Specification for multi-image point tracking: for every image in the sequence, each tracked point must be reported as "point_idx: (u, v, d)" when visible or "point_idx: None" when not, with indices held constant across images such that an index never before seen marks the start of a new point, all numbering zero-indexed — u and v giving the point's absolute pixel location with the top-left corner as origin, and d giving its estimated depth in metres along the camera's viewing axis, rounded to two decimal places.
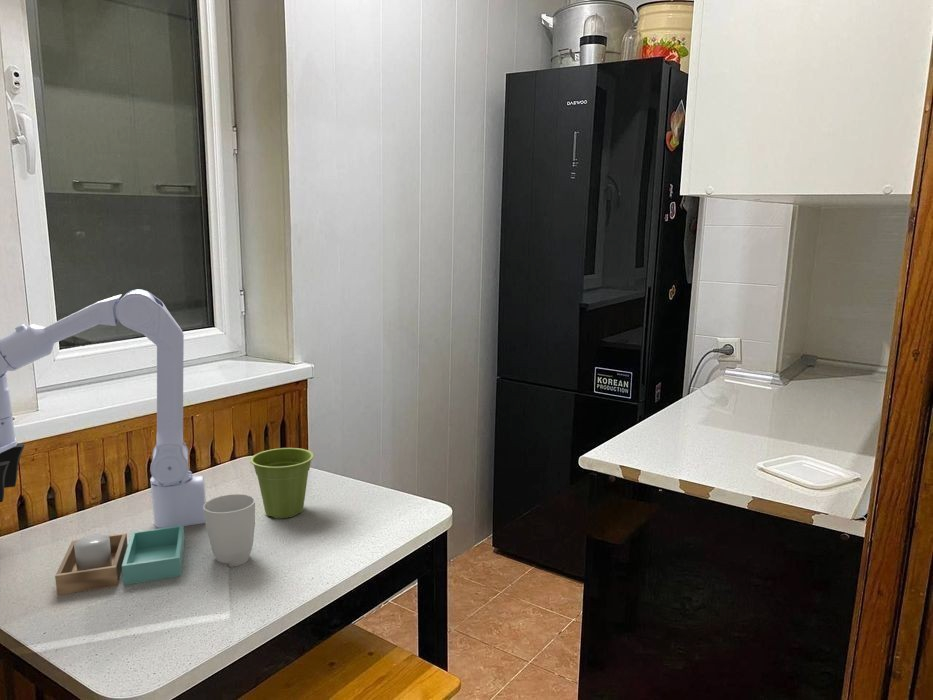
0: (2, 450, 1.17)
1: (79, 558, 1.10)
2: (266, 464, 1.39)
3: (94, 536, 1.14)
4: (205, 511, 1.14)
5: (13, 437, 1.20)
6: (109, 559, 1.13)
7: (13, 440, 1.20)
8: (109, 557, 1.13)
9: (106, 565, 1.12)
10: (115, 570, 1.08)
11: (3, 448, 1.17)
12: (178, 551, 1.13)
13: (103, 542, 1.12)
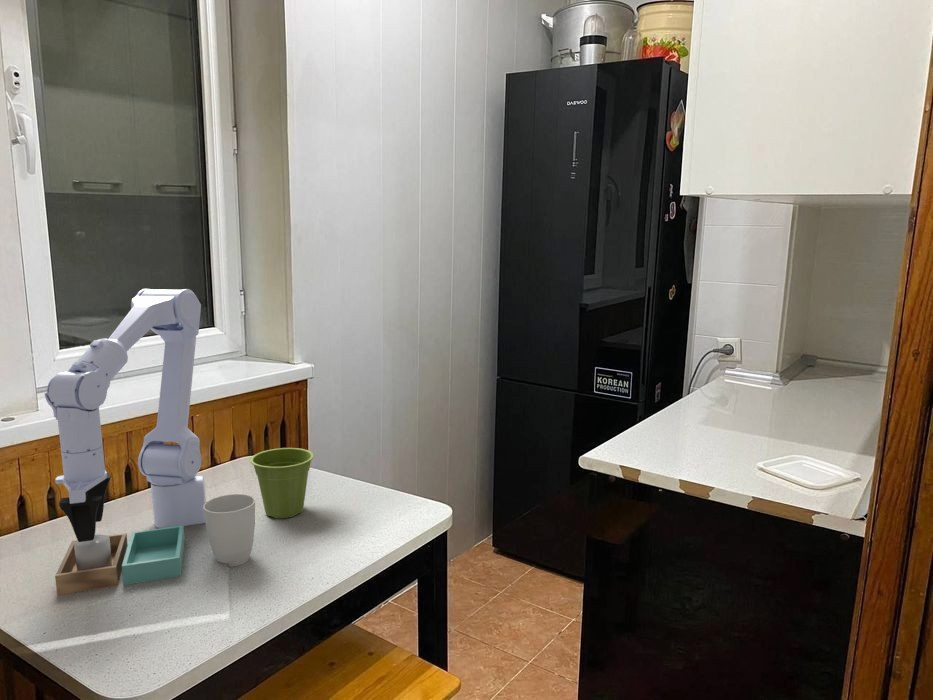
0: (94, 484, 1.08)
1: (79, 558, 1.10)
2: (266, 464, 1.39)
3: (94, 536, 1.14)
4: (205, 511, 1.14)
5: (104, 469, 1.11)
6: (109, 559, 1.13)
7: (104, 472, 1.11)
8: (109, 557, 1.13)
9: (106, 565, 1.12)
10: (115, 570, 1.08)
11: (95, 481, 1.08)
12: (178, 551, 1.13)
13: (103, 542, 1.12)
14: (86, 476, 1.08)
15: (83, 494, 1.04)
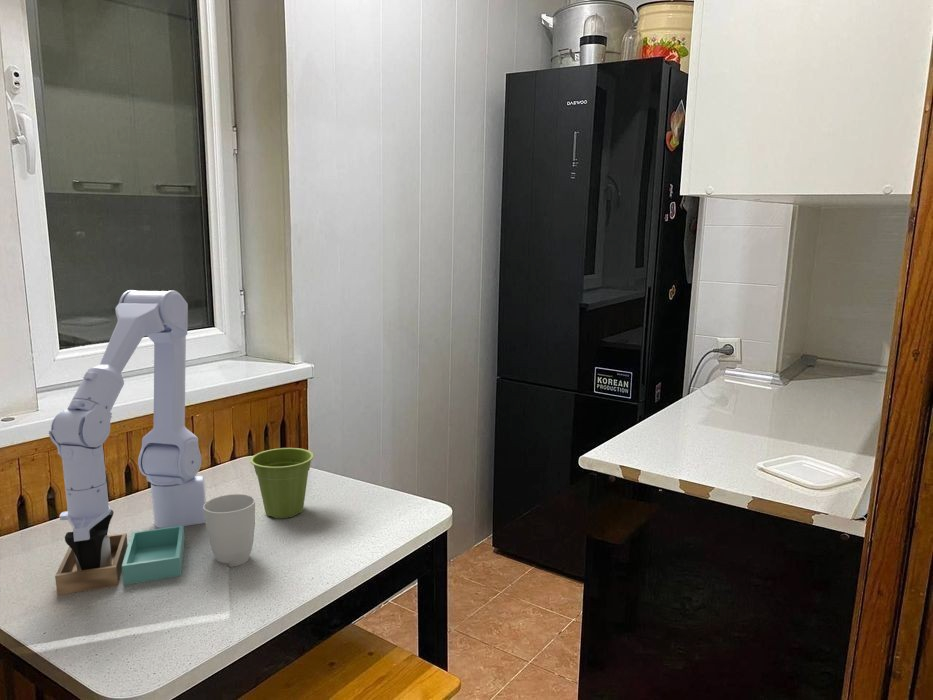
0: (98, 520, 1.09)
1: None
2: (266, 464, 1.39)
3: None
4: (205, 511, 1.14)
5: (107, 504, 1.12)
6: (109, 559, 1.13)
7: (107, 508, 1.12)
8: (109, 557, 1.13)
9: (106, 565, 1.12)
10: (115, 570, 1.08)
11: (99, 518, 1.09)
12: (178, 551, 1.13)
13: (103, 542, 1.12)
14: (90, 512, 1.09)
15: (87, 532, 1.05)
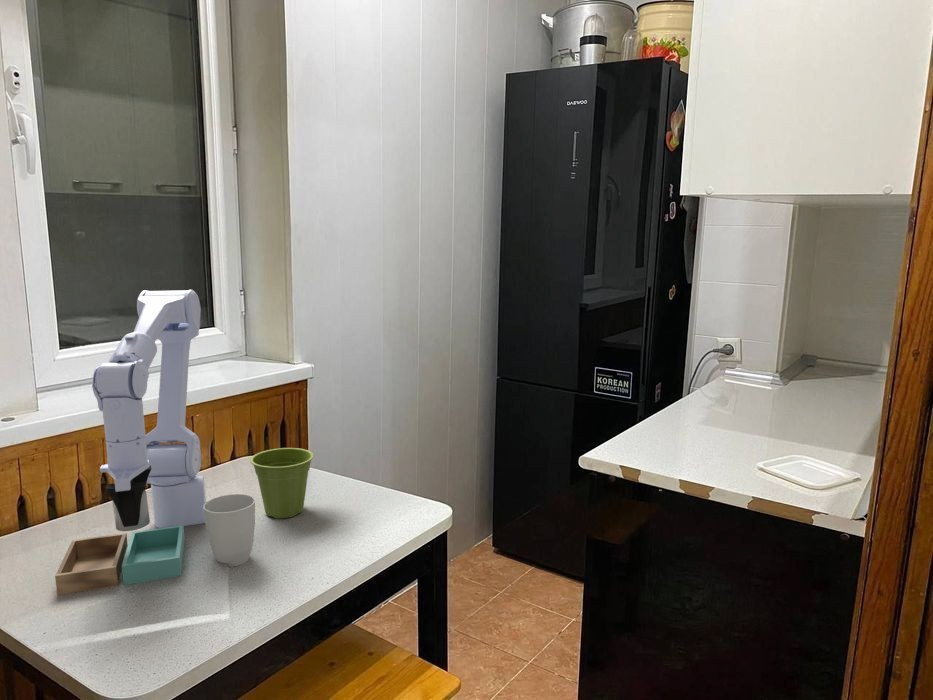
0: (138, 472, 1.09)
1: (117, 512, 1.11)
2: (266, 464, 1.39)
3: None
4: (205, 511, 1.14)
5: (146, 458, 1.13)
6: (146, 513, 1.13)
7: (146, 461, 1.13)
8: (146, 511, 1.13)
9: (144, 518, 1.13)
10: (115, 570, 1.08)
11: (139, 470, 1.10)
12: (178, 551, 1.13)
13: None
14: (130, 465, 1.10)
15: (128, 482, 1.06)
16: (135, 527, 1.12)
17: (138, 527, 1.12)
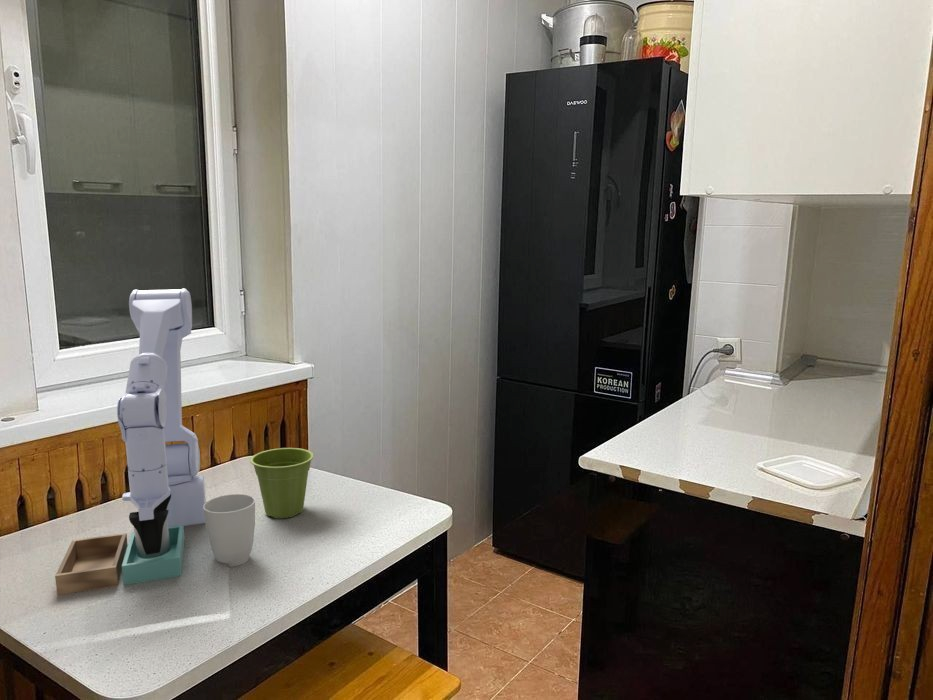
0: (161, 501, 1.11)
1: (139, 539, 1.13)
2: (266, 464, 1.39)
3: None
4: (205, 511, 1.14)
5: (168, 486, 1.14)
6: (167, 540, 1.15)
7: (168, 489, 1.14)
8: (167, 538, 1.15)
9: (165, 546, 1.14)
10: (115, 570, 1.08)
11: (161, 499, 1.11)
12: (178, 551, 1.13)
13: None
14: (152, 493, 1.11)
15: (152, 511, 1.08)
16: (157, 554, 1.13)
17: (160, 554, 1.14)
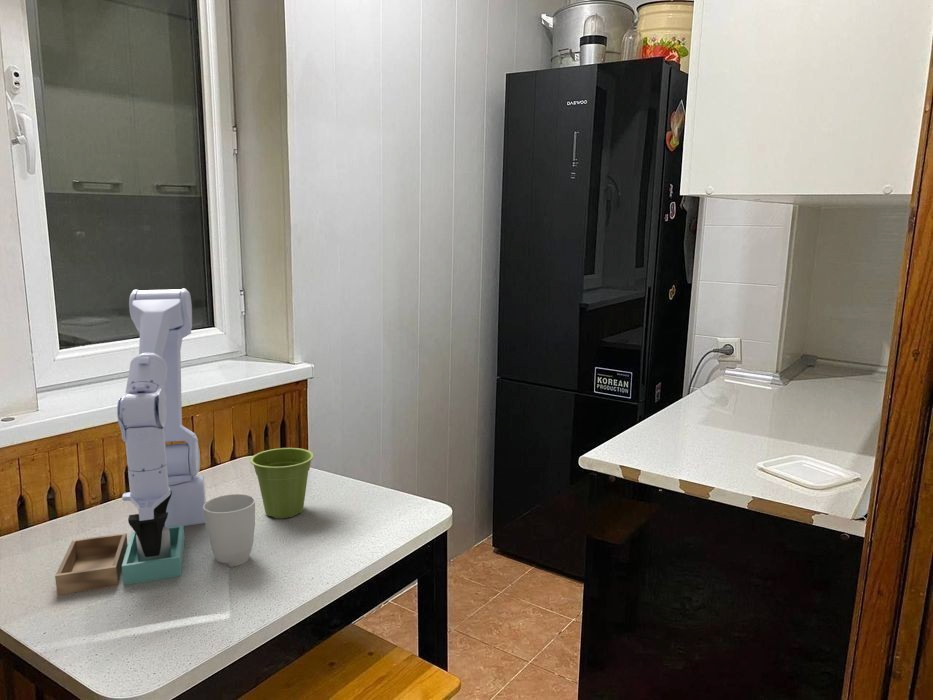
0: (161, 501, 1.11)
1: (141, 549, 1.13)
2: (266, 464, 1.39)
3: None
4: (205, 511, 1.14)
5: (168, 486, 1.14)
6: (169, 550, 1.16)
7: (168, 489, 1.14)
8: (169, 548, 1.15)
9: (166, 556, 1.15)
10: (115, 570, 1.08)
11: (161, 499, 1.11)
12: (178, 551, 1.13)
13: (164, 534, 1.15)
14: (152, 493, 1.11)
15: (152, 511, 1.08)
16: None
17: None
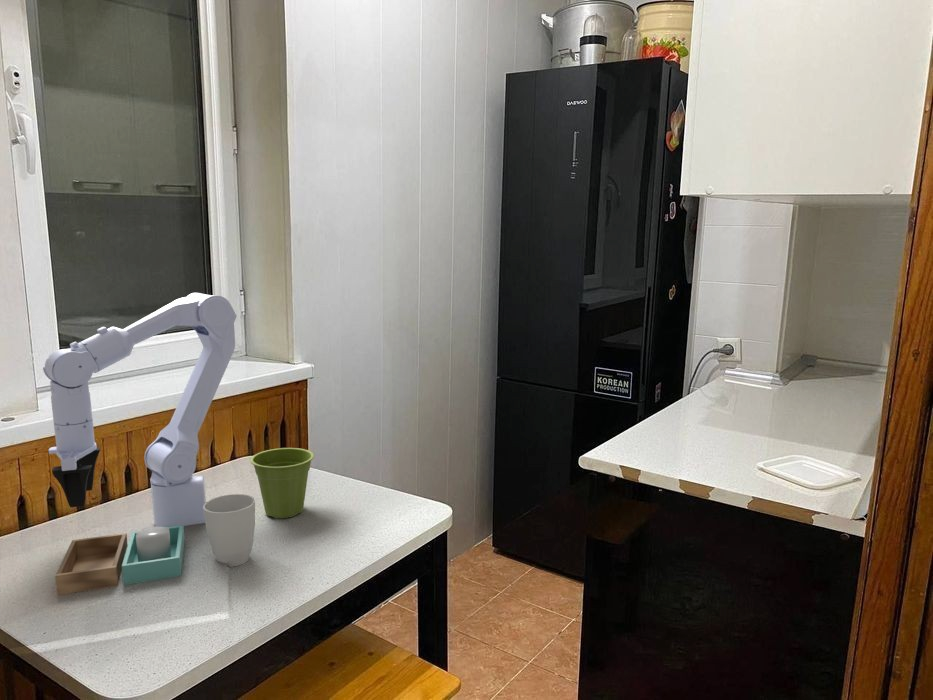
0: (85, 454, 1.17)
1: (141, 549, 1.13)
2: (266, 464, 1.39)
3: (154, 528, 1.17)
4: (205, 511, 1.14)
5: (93, 440, 1.20)
6: (169, 550, 1.15)
7: (93, 443, 1.20)
8: (169, 549, 1.15)
9: (166, 556, 1.15)
10: (115, 570, 1.08)
11: (86, 452, 1.17)
12: (178, 551, 1.13)
13: (164, 534, 1.14)
14: (77, 446, 1.17)
15: (74, 462, 1.13)
16: None
17: None
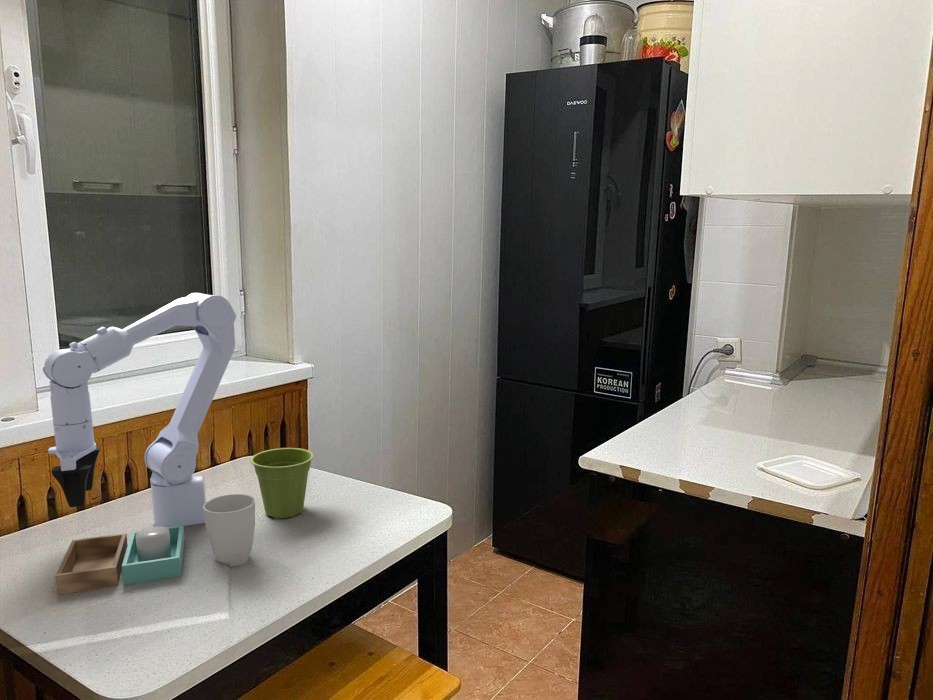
0: (84, 454, 1.17)
1: (141, 549, 1.13)
2: (266, 464, 1.39)
3: (154, 528, 1.17)
4: (205, 511, 1.14)
5: (93, 440, 1.20)
6: (169, 550, 1.15)
7: (93, 443, 1.20)
8: (169, 548, 1.15)
9: (166, 556, 1.15)
10: (115, 570, 1.08)
11: (85, 452, 1.17)
12: (178, 551, 1.13)
13: (163, 534, 1.14)
14: (76, 446, 1.17)
15: (73, 462, 1.13)
16: None
17: None
